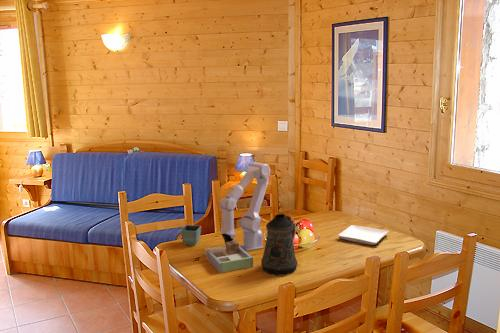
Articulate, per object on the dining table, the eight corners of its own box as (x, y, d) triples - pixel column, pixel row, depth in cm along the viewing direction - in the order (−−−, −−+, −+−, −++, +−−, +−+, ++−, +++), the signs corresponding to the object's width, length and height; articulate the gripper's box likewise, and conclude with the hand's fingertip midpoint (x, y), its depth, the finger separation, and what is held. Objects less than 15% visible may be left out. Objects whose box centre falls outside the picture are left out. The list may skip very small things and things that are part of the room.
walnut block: (235, 249, 240) (235, 240, 239) (239, 253, 236) (238, 243, 235) (225, 251, 238) (225, 241, 237) (229, 254, 234) (229, 245, 233)
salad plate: (389, 236, 264) (389, 230, 263) (376, 248, 247) (376, 242, 246) (351, 229, 275) (351, 224, 275) (337, 241, 258) (337, 235, 257)
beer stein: (259, 275, 217) (258, 221, 212) (264, 258, 235) (263, 208, 230) (296, 276, 214) (296, 222, 209) (298, 259, 233) (298, 209, 228)
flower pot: (197, 247, 251) (196, 231, 249) (180, 246, 253) (180, 230, 251) (202, 241, 260) (201, 225, 258) (186, 240, 261) (185, 224, 260)
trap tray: (233, 248, 249) (232, 240, 248) (253, 266, 226) (252, 257, 225) (202, 254, 242) (202, 245, 241) (219, 272, 219) (219, 263, 219)
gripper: (215, 218, 243) (216, 244, 245) (225, 226, 230) (226, 254, 232) (228, 216, 245) (229, 242, 248) (239, 224, 232) (239, 251, 235)
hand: (228, 247), depth 240 cm, fingers closed
